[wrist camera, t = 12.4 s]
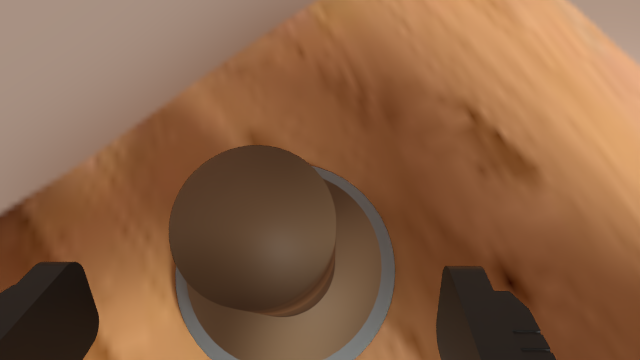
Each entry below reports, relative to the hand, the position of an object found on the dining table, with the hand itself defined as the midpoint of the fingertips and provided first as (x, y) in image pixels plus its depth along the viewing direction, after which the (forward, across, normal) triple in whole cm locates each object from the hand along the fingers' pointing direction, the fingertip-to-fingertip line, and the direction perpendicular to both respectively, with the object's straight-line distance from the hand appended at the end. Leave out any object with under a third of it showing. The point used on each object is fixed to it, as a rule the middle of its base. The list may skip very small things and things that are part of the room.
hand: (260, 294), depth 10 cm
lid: (+7, 0, +5) cm, 8 cm away
